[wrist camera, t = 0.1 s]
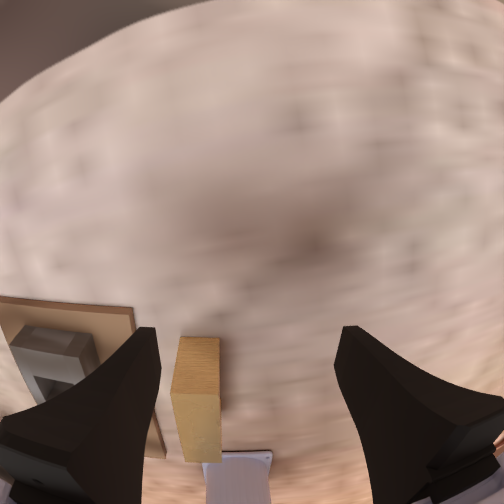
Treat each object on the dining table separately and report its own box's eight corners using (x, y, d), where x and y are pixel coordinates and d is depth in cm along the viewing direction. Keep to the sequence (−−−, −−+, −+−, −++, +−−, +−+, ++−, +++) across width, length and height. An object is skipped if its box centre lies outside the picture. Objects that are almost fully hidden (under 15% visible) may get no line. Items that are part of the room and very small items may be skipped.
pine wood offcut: (221, 411, 26) (222, 463, 21) (189, 410, 26) (185, 461, 20) (219, 337, 23) (218, 394, 17) (180, 336, 23) (170, 393, 17)
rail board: (166, 452, 29) (163, 480, 25) (61, 434, 28) (51, 457, 24) (132, 307, 22) (117, 339, 18) (-3, 295, 20) (-26, 318, 17)
